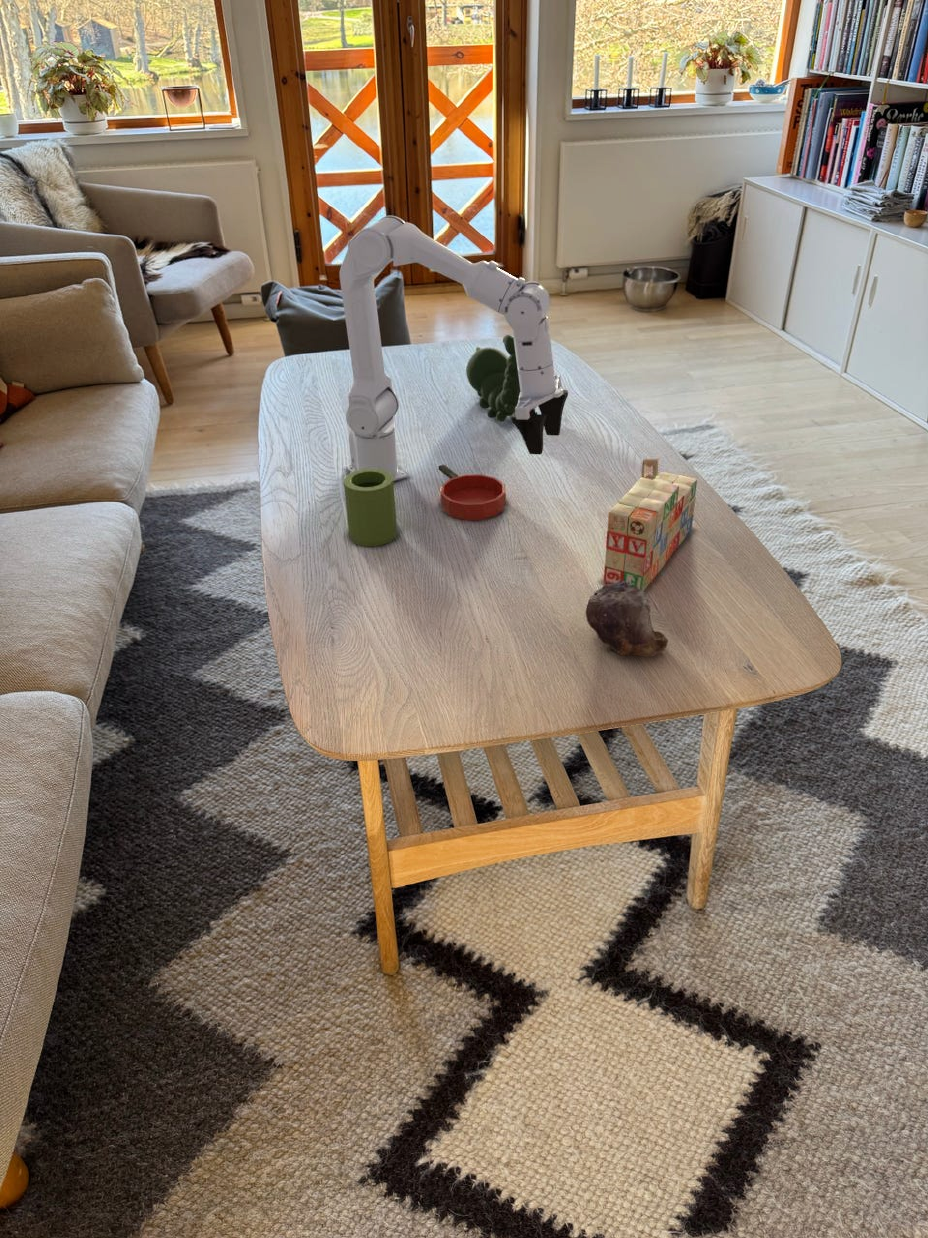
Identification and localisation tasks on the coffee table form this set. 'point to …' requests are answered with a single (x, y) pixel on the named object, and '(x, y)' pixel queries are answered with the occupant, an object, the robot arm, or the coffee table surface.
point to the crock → (370, 506)
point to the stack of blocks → (648, 528)
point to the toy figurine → (495, 379)
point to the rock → (624, 620)
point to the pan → (472, 495)
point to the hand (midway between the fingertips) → (544, 443)
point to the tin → (650, 468)
